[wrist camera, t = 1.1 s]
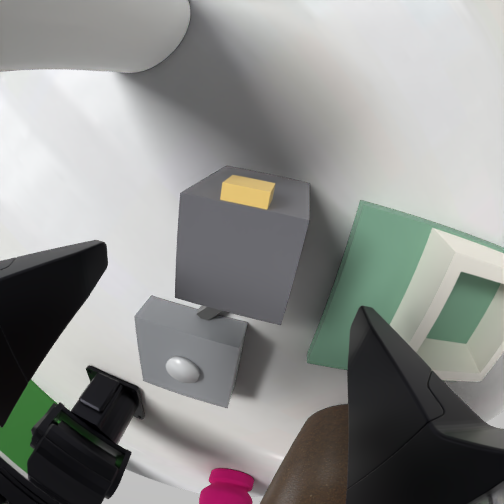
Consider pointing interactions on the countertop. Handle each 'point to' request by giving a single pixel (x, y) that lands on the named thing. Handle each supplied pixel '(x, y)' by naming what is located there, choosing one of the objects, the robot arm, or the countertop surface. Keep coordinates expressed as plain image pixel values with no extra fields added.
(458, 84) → the countertop surface
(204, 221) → the plug
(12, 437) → the cereal box
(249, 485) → the pepper mill
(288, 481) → the plant pot
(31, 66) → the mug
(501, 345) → the board
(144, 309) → the gray button block
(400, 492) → the robot arm
